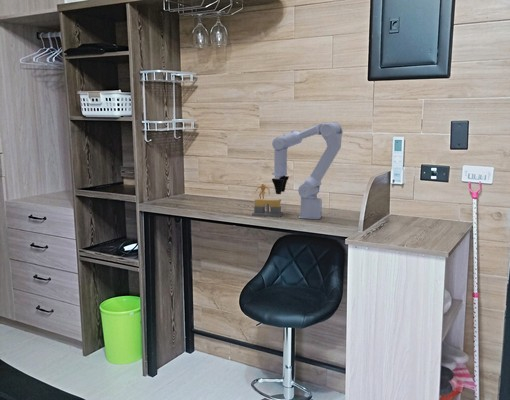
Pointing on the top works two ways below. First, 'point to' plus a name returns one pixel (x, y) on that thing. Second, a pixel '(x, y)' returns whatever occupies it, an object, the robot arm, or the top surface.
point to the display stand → (267, 211)
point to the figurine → (263, 190)
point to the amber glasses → (267, 202)
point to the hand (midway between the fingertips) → (280, 192)
